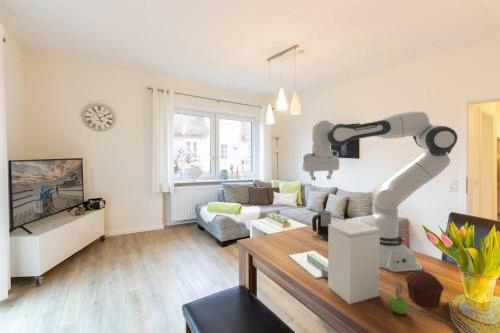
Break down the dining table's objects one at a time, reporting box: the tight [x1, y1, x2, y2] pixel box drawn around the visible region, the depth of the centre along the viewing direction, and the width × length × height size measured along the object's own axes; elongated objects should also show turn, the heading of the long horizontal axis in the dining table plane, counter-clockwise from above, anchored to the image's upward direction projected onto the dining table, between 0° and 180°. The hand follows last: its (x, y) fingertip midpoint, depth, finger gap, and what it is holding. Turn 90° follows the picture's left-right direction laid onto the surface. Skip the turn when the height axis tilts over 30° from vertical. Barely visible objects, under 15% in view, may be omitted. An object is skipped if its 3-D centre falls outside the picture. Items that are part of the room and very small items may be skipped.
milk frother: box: [311, 210, 332, 237], centre depth 155 cm, size 14×16×15 cm
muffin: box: [405, 270, 444, 309], centre depth 86 cm, size 12×11×10 cm
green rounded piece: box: [388, 281, 409, 315], centre depth 80 cm, size 5×6×12 cm
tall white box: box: [327, 220, 380, 305], centre depth 92 cm, size 12×14×26 cm
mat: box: [288, 250, 328, 280], centre depth 116 cm, size 24×16×1 cm, turn 20°
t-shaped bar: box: [307, 253, 328, 279], centre depth 111 cm, size 18×8×3 cm, turn 20°
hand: (321, 179), depth 121 cm, fingers open, 8 cm apart
